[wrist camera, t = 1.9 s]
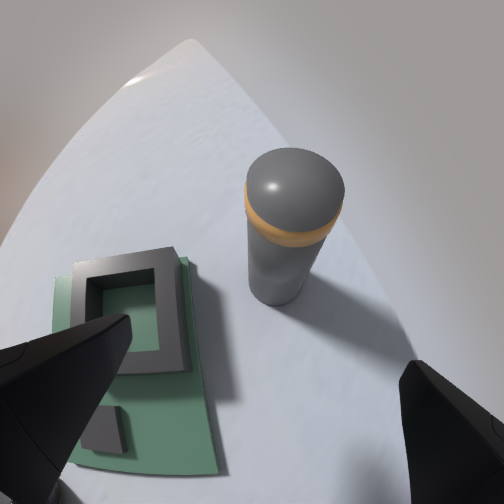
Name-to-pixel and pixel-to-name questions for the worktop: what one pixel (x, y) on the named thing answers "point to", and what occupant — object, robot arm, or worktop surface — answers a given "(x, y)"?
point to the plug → (288, 219)
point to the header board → (143, 365)
